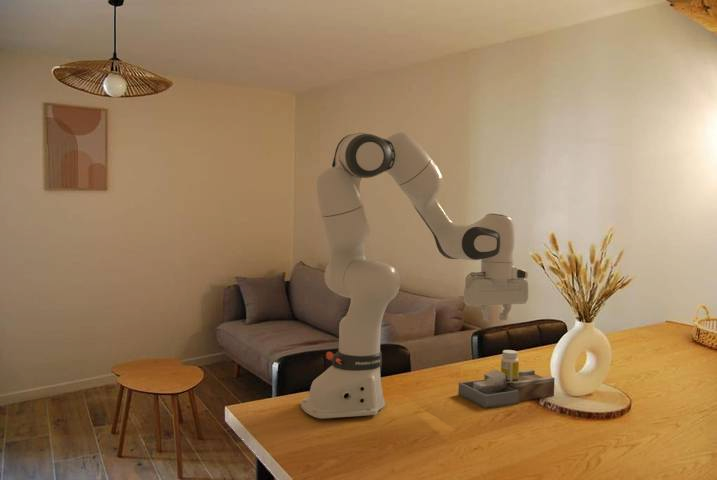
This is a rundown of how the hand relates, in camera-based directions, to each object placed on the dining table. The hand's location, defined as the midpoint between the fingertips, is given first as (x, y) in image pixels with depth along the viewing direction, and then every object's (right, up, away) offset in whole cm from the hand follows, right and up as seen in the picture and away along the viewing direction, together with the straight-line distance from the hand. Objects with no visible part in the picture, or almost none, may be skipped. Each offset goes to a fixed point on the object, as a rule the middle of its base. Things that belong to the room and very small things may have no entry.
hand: (495, 320), depth 153 cm
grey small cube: (0, -18, -3) cm, 18 cm away
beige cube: (-3, -18, -4) cm, 19 cm away
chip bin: (-3, -21, -5) cm, 22 cm away
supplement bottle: (+4, -17, -1) cm, 17 cm away
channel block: (+8, -21, +1) cm, 22 cm away
